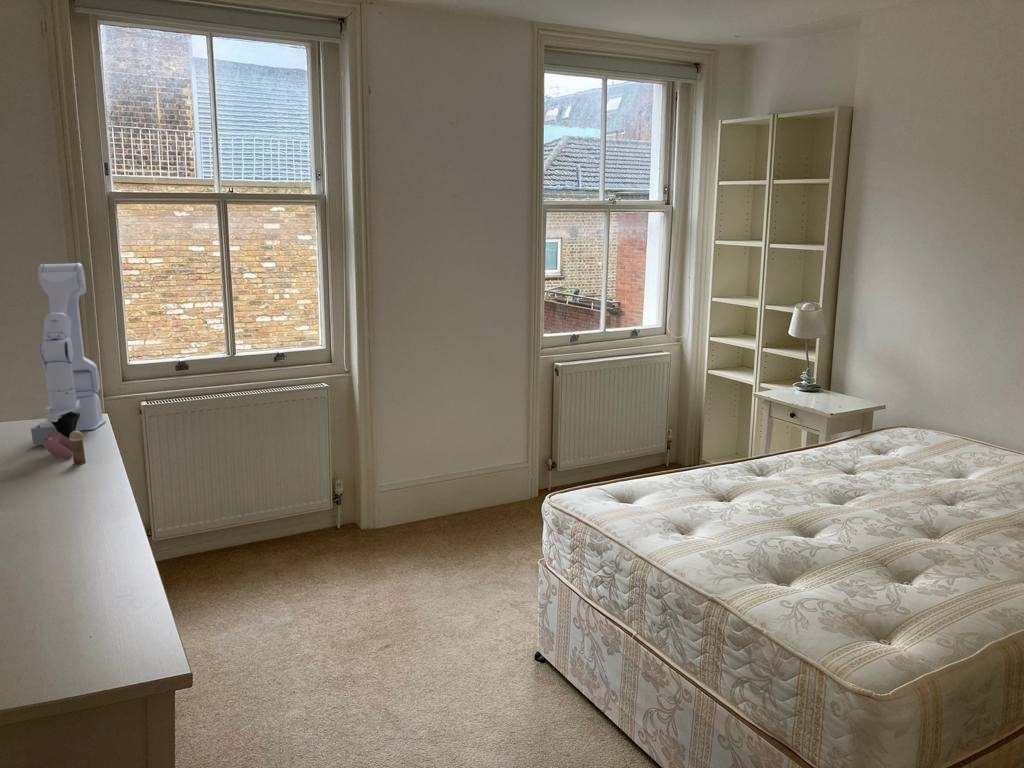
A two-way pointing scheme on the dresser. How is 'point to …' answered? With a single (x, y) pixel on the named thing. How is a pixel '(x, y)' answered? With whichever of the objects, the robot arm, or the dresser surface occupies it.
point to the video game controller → (58, 444)
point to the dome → (46, 424)
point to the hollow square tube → (40, 434)
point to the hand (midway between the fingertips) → (68, 443)
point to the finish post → (77, 447)
